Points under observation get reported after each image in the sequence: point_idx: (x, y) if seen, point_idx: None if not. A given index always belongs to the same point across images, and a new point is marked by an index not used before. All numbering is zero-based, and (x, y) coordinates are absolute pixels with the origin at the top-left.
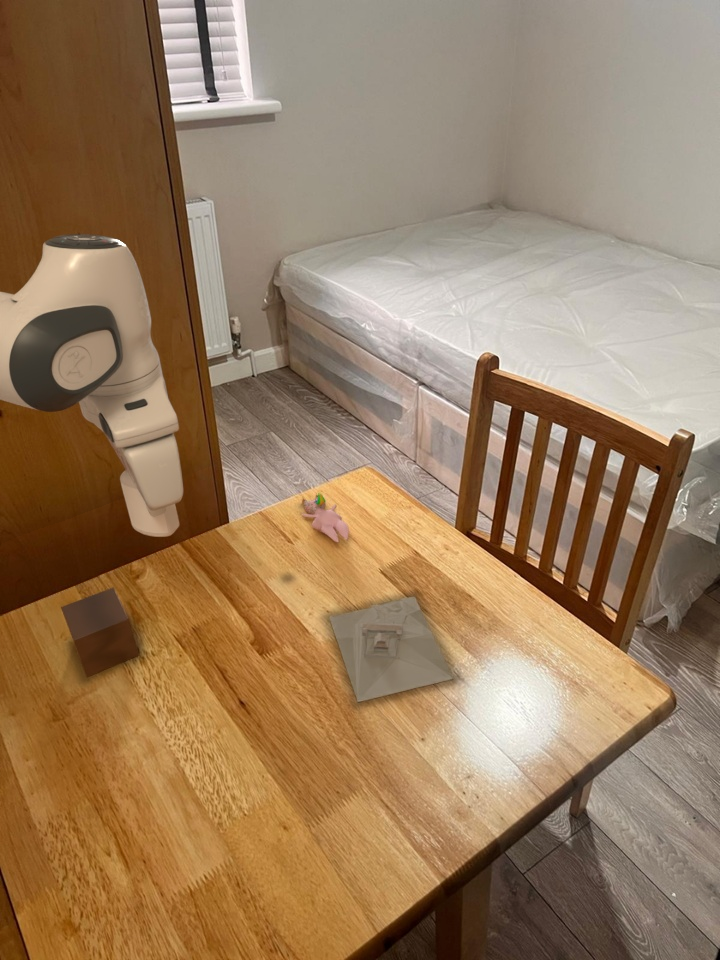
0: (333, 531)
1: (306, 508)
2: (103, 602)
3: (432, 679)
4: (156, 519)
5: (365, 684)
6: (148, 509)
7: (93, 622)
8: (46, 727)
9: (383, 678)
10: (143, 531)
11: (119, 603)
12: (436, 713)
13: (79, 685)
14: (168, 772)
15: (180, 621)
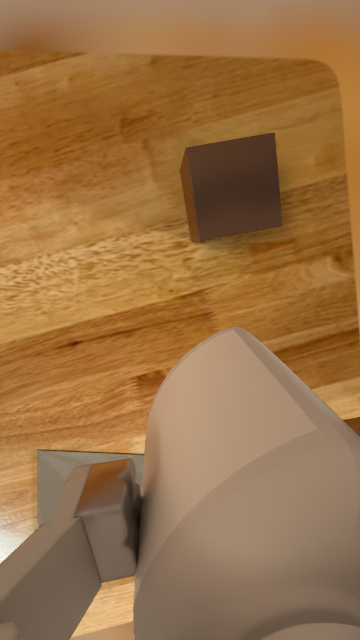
0: None
1: None
2: (253, 205)
3: (43, 518)
4: (152, 432)
5: (57, 463)
6: (79, 485)
7: (213, 184)
8: (114, 108)
9: (59, 480)
10: (186, 357)
11: (239, 231)
12: (4, 507)
13: (170, 158)
14: (3, 249)
15: (228, 300)
